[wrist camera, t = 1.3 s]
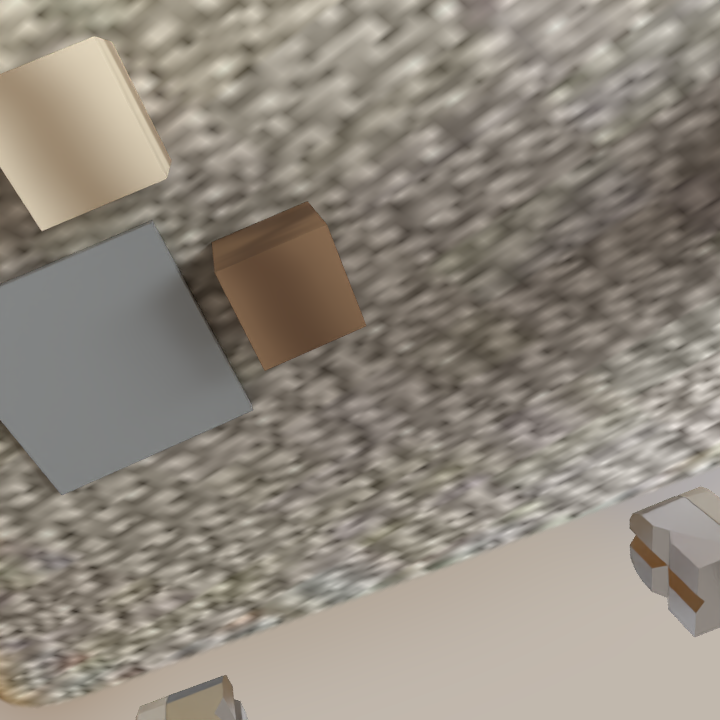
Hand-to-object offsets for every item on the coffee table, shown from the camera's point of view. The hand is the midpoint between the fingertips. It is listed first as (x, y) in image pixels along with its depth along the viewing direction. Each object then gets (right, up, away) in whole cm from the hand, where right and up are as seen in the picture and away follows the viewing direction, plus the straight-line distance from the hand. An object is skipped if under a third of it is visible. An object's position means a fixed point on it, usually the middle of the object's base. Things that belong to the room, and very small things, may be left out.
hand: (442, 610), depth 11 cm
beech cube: (-13, +15, +14) cm, 24 cm away
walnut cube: (-6, +9, +19) cm, 22 cm away
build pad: (-14, +4, +19) cm, 24 cm away
